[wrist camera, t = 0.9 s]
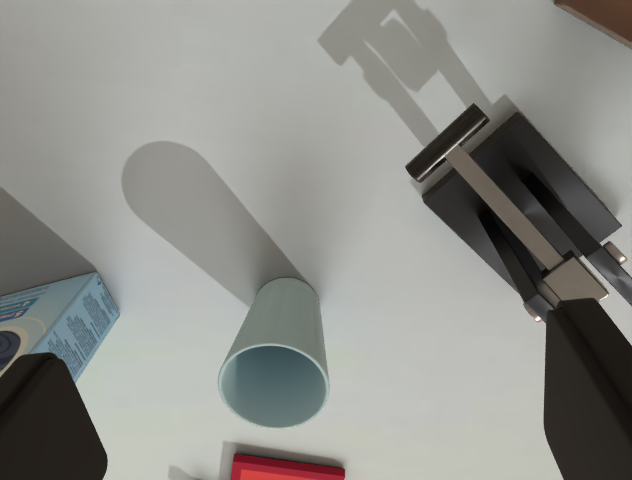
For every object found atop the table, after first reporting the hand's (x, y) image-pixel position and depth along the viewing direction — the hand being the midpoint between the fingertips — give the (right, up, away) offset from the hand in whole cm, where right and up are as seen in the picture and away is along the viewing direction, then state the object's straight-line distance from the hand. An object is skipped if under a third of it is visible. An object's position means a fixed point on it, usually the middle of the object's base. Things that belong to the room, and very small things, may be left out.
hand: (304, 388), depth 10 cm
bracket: (+16, +5, +31) cm, 35 cm away
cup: (-2, -3, +36) cm, 36 cm away
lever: (+12, +4, +23) cm, 26 cm away
